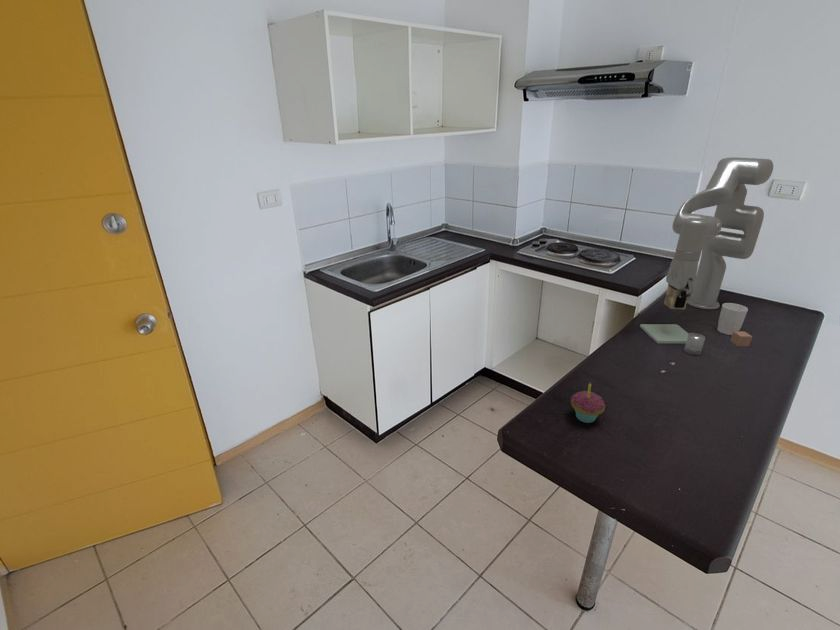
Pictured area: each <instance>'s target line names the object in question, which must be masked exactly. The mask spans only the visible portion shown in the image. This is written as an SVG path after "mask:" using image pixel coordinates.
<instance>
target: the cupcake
mask: <svg viewBox="0 0 840 630" xmlns="http://www.w3.org/2000/svg"><path fill="white" fill-rule="evenodd" d="M591 389H592V383H591V382H589V383H588V387H587V391H586V390H582V391H577V392H575V393H574V394H573V395H571V398H570V404H571V405H572V406H571V407H572V408H573V409H574V410H575V411H574V412H575V416H576V418H577V420H578V421H580V422H583V423H586V424H590V423H594V422H595V421H596V419H597V418H598V417H599V415H601V414H603V413H604V412H605V410H606V409H605V408H606V403H605V401H604V399H603V397H601V396H600V395H598V394H597V393H595V392H593V391H592V390H591Z"/></svg>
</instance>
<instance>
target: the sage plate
mask: <svg viewBox="0 0 840 630" xmlns="http://www.w3.org/2000/svg"><path fill="white" fill-rule="evenodd" d="M639 327H640V329H642V330H643V331H644V332H645V333H646V334H647V335H648V336H649V337H650V338H651V339H652V340H653V341H654V342H656V344H681V345H682V344H685V345H686V341H687V337H688V334H689V333H688V332H687V331H686V330H685V329H684V328H682V327H681V326H680V325H678V324H675V323H674V324H673V323H672V324H670V323H669V324H668V323H667V324H664V323H663V324H661V323H660V324H659V323H657V324H656V323H655V324H654V323H653V324H652V323H651V324H649V323H648V324H645V323H641V324H640V325H639Z"/></svg>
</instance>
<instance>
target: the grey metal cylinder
mask: <svg viewBox="0 0 840 630" xmlns="http://www.w3.org/2000/svg"><path fill="white" fill-rule="evenodd" d="M705 340H706V336H705V335H703V334H702V333H701V334H700V333H698V332H697V333H696V332H689V333H688V337H687V341H686V344H685V345H684V348H683V351H684V352H685V353H687V354H688V355H693V356H699V355H700V356H701V354H702V350H703V347H704V344H705Z"/></svg>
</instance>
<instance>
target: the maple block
mask: <svg viewBox="0 0 840 630" xmlns="http://www.w3.org/2000/svg"><path fill="white" fill-rule="evenodd" d="M684 289H686V287H684ZM683 292H685V290H682V293H683ZM678 294H679V290H678V289H676V288H675V287H673V286H669V285H667V290H666V293H665V298H664V302H663V304H664V305H665V306H666V307H667V308H668V309H670V310H686V306H687V305H688V304H687V300H688V298H686V302H685V306H684V308H675V307H674V306H675V302H676V298H677V297H678Z"/></svg>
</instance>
